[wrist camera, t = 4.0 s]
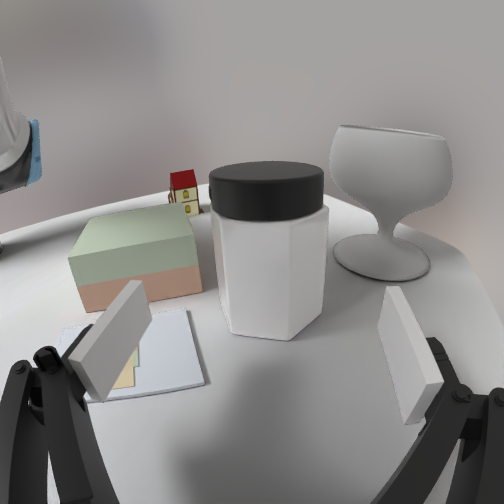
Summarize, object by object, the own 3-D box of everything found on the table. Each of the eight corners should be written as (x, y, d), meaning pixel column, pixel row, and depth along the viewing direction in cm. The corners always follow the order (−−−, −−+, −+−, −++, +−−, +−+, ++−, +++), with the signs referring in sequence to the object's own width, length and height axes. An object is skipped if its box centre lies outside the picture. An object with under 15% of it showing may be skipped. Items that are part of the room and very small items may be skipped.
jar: (268, 275, 31) (264, 157, 26) (336, 303, 26) (346, 167, 21) (199, 314, 26) (180, 175, 20) (270, 359, 20) (267, 188, 15)
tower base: (100, 261, 36) (90, 218, 33) (187, 245, 39) (181, 201, 37) (86, 312, 26) (67, 257, 23) (202, 292, 29) (194, 234, 26)
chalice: (413, 305, 24) (440, 138, 18) (301, 259, 34) (301, 124, 28) (447, 256, 33) (463, 140, 26) (360, 227, 42) (365, 125, 36)
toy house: (182, 222, 49) (176, 174, 45) (162, 216, 53) (156, 173, 50) (209, 213, 53) (204, 168, 49) (187, 208, 57) (182, 167, 53)
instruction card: (64, 330, 23) (62, 327, 23) (185, 310, 26) (185, 306, 26) (46, 405, 15) (44, 401, 15) (205, 384, 18) (204, 380, 18)
